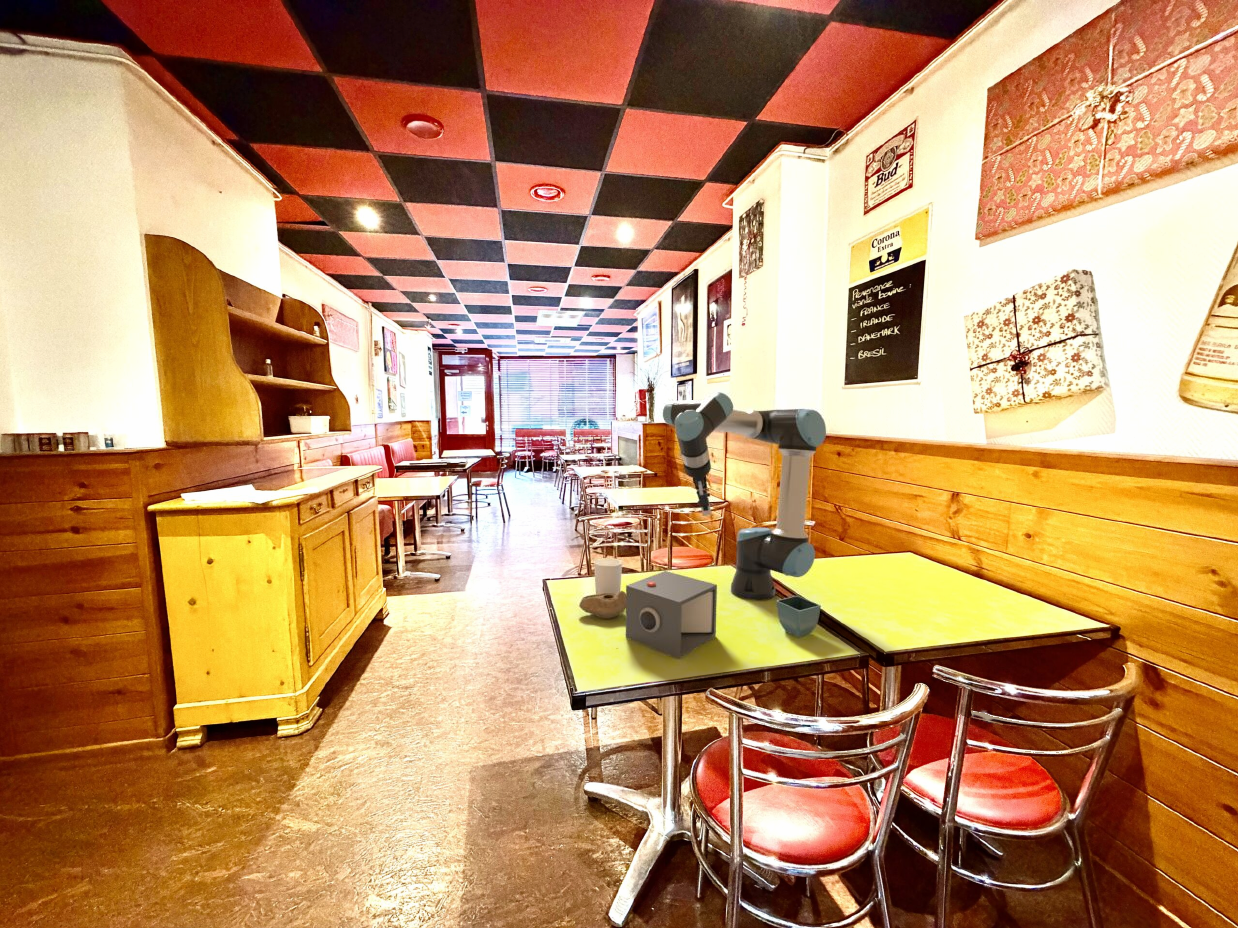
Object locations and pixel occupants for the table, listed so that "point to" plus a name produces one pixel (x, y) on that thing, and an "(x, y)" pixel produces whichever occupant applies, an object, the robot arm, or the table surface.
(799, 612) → the flower pot
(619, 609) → the oil lamp
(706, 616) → the side door
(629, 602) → the cabinet with door
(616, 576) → the candle holder
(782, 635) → the table surface
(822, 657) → the table surface
